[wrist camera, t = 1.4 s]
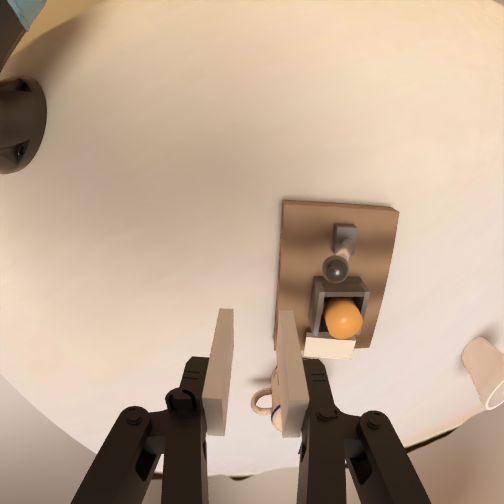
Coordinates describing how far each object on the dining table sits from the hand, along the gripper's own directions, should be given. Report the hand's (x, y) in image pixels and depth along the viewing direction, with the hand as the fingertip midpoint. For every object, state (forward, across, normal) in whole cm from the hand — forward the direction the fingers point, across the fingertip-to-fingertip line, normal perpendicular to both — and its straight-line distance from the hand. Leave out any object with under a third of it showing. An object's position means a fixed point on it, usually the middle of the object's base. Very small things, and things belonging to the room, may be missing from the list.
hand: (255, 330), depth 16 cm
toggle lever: (+16, +10, 0) cm, 19 cm away
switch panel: (+21, +10, -6) cm, 24 cm away
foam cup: (+21, +44, -22) cm, 54 cm away
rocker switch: (+16, +10, -14) cm, 24 cm away
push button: (+15, +10, -8) cm, 20 cm away
